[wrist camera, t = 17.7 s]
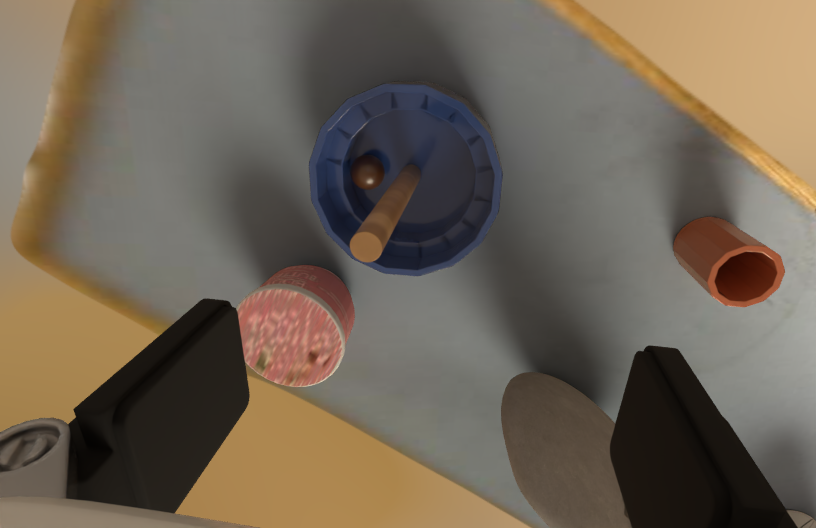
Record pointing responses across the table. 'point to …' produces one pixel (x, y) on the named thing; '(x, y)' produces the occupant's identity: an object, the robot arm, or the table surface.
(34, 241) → the table surface
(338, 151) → the bowl
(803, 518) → the mug
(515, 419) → the grey-brown thick disc
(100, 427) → the robot arm
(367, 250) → the stick
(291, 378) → the container
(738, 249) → the holder
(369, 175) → the bead
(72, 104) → the table surface
